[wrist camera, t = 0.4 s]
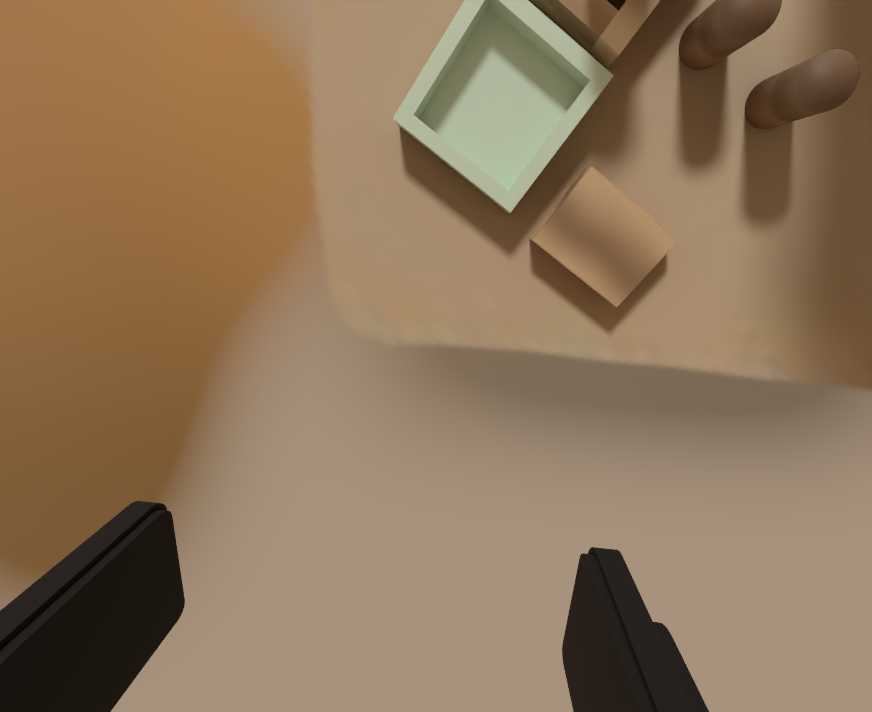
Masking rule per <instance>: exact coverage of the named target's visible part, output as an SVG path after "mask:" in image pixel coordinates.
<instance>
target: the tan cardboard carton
mask: <svg viewBox="0 0 872 712" xmlns="http://www.w3.org/2000/svg"><path fill="white" fill-rule="evenodd" d="M530 240H531V241H533V242H534V243H535V244H536V245H538V246H539V247H540V248H541V249H543V250H544V251H545V252H546V253H548V254H549V255H550V256H551V257H553V258H554V259H555V260H556V261H558V262H559V263H560V264H561V265H563V266H564V267H565V268H566V269H568V270H569V271H570V272H571V273H573V274H574V275H575V276H576V277H578V278H579V279H580V280H581V281H583V282H584V283H585V284H586V285H588V286H589V287H590V288H591V289H593V290H594V291H595V292H596V293H598V294H599V295H600V296H601V297H603V298H604V299H605V300H606V301H608V302H609V303H611V304H612V305H614V306H615V307H618V306H619V305H620V304H621V302H622V301H623V300H624V299H625V298H626V297H627V296H628V295H629V294H630V293H631V292H632V291H633V289H634V288H635V287H636V286H637V285H638V284H639V283H640V282H641V281H642V280H643V279H644V277H645V276H646V275H647V274H648V273H649V272H650V271H651V270H652V269H653V268H654V267H655V266H656V264H657V263H658V262H659V261H660V260H661V259H662V258H663V257H664V256H665V255H666V254H667V252H668V251H669V250H670V249H671V248H672V247H673V246H674V245H675V244H676V243H677V242H678V241H679V240H678V239H677V238H676V237H675V236H674V235H673V234H671V233H670V232H669V231H668V230H667V229H665V228H664V227H663V226H662V225H661V224H660V223H658V222H657V221H656V220H655V219H654V218H652V217H651V216H650V215H649V214H648V213H647V212H645V211H644V210H643V209H642V208H641V207H639V206H638V205H637V204H636V203H635V202H634V201H632V200H631V199H630V198H629V197H628V196H626V195H625V194H624V193H623V192H622V191H620V190H619V189H618V188H617V187H616V186H615V185H613V184H612V183H611V182H610V181H609V180H607V179H606V178H605V177H604V176H603V175H602V174H600V173H599V172H598V171H597V170H596V169H594V168H593V167H592V166H591V167H589V168H587V169H584V171H583V172H582V173H581V174H580V176H579V177H578V178H577V180H576V181H575V182H574V183H573V185H572V186H571V187H570V188H569V190H568V191H567V192H566V193H565V195H564V196H563V197H562V198H561V200H560V201H559V202H558V203H557V205H556V206H555V207H554V209H553V210H552V211H551V212H550V214H549V215H548V216H547V217H546V219H545V220H544V221H543V222H542V224H541V225H540V226H539V227H538V229H537V230H536V231H535V232H534V234H533V235H532V236H531V238H530Z"/></svg>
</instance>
